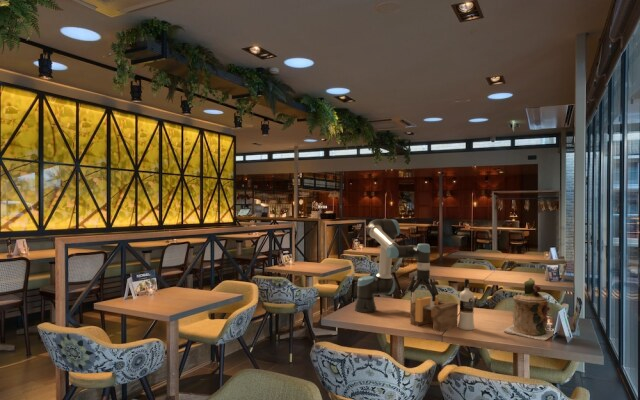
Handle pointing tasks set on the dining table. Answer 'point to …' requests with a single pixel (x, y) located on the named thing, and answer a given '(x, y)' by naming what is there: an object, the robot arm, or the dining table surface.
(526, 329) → the cookie jar
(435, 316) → the dark wooden box
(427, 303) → the wooden u-shaped block
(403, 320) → the dining table surface
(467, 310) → the vodka
